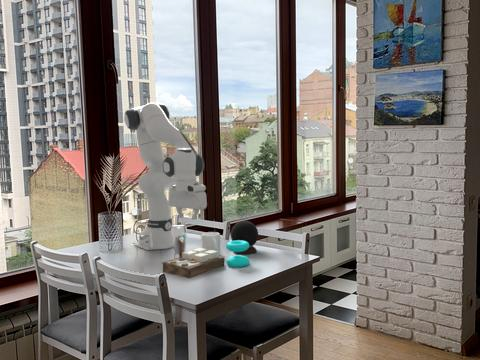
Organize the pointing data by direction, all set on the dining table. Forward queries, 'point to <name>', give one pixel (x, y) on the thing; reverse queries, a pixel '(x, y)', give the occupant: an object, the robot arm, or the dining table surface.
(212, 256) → the button
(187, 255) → the button
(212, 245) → the mug
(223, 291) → the dining table surface
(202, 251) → the button
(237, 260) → the donuts
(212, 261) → the board
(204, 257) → the button
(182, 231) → the beer glass
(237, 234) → the black ball on stand
